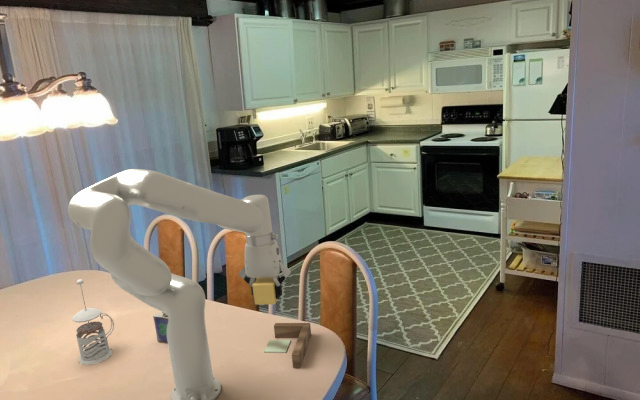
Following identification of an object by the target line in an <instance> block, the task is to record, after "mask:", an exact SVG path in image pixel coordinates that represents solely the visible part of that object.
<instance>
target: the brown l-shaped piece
mask: <svg viewBox="0 0 640 400" xmlns="http://www.w3.org/2000/svg"><path fill="white" fill-rule="evenodd" d="M311 328H312V327H311V322H275V323H274V324H273V331H274V339H269V340H268V341H267V344H266V346H265V348H264V351H263V353H274V354H275V353H277V354H279V353H280V354H281V353H282V354H283V353H284V354H285V353H287V351H288V349H289V346H290V343H291V339H296V342H295V345H294V348H293V351H292V353H291V361H292V362H291V363H292V368H293V369H301V367H302V364H303V360H304V358H305V356H306V352H307V348H308V345H309V342H310V340H309V339H311V337H312V329H311ZM310 336H311V337H310Z"/></svg>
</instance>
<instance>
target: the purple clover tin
mask: <svg viewBox="0 0 640 400" xmlns="http://www.w3.org/2000/svg"><path fill="white" fill-rule="evenodd" d="M152 317H153V323H154V326H155V327H154V328H155V334H156V340H157V342H158V343H163V344H167V345H168V341H167V325H168V315H167V314H166V313H164V312H162V311H161V313H155V314H153V316H152Z"/></svg>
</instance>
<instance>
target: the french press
mask: <svg viewBox="0 0 640 400" xmlns="http://www.w3.org/2000/svg"><path fill="white" fill-rule="evenodd" d="M82 284H84V280H83V279H82V278H80V279H77V280H76V285H80V290H81V294H82V295H81V296H82V301H83V305H84V308H83V309H81V310H79V311H78V312H76V313H75V314H74V315H73V316H72V317H71V320H72V321H73V322H74V323H84V324H81V325H80V326H78V327H77V328H76V331H75V332H76V339H77V340H76V341H77V345H78V348H79V354H80V356H79V358H78V359H77V362H78V361H79V362H80V363H81V364H85V365H84V366H91V364H92V365H96V364H99V363H101V361H102V362H103V360H104V361H106V360H107V359H109V358H110V357H111V356H112V354H113V353H112V352H113V349H112V348H110V346H109V342H108V337H109V336H110V335H111V334H112V333H113V331H114V329H115V323H114V319H113V318H112V316H110V315H109V314H107V313H103V312H102V310H101V309H99V308H95V307H87V308H86V302H85V297H84V292H83V288H82V287H83V286H82ZM98 317H100V319H101V320H103V319H104V317H108V318H109V319H110V323H111V324H110V328H109V331H107V332H106V331H105V329H104V327H103V322H101V321H92V320H95V319H97V318H98ZM111 330H112V331H111ZM87 336H88V337H87ZM111 349H112V350H111ZM111 353H112V354H111ZM110 355H111V356H110ZM109 356H110V357H109ZM105 359H106V360H105ZM80 363H79V364H80ZM95 363H96V364H95ZM81 364H80V365H81ZM89 364H90V365H89Z"/></svg>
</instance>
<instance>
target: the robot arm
mask: <svg viewBox="0 0 640 400" xmlns="http://www.w3.org/2000/svg"><path fill="white" fill-rule="evenodd" d="M132 205H133V206H139V207H144V208H147V209H151V210H154V211H158V212H160V213H161V212H162V213H164V214H168V215H171V216H175V217H178V218H182V219H186V220H190V221H194V222H198V223H204V224H213V225H217V226H218V227H220V228H221V229H224V230H230V231H236V232H239V233H244V234H245V238H246V239H245V240H246V243H245V245H244V267H242V268H241V270H240V271H239V272H238V274H237V275H238V276H239V277H240V278H241V279H243V281H244V282H246V283H247V284H248V286H249V287H250V289H251V291H250V292H251V295H252V296H253V297H254V294H253V287H252V285H253V284H254V282H255V281H256V279H257V278H272V279H273V280H274V282H275V284H276V285H275V294H276V299H278V300H279V299H280V297H281V296H282V295H283V286H282V284H283V283H284V281H285V280H286V279H287V277H289V276H290V275H291V270H290V269H289V268H288V267H287V266H286V265H284V264H283V260H282V256H281V252H280V251H281V250H280V247H279V245H278V241H277V240H278V238H279V234H277V233H276V234H275V233H274V230H273V227H272V225H273V224H272V219H271V211H270V201H269V199H268V197H267V196H266V195H265V194H251V195H246V196H245V197H243V198H241V199H240V198H236V197H233V196H230V195H226V194H224V193H220V192H217V191H214V190H212V189H208V188H205V187H202V186H199V185H196V184H193V183H190V182H188V181H184V180H181V179H180V178H179V179H178V178H176V177H173V176H171V175H168V174H165V173H163V172H159V171H156V170H152V169H151V170H150V169H142V168H141V169H140V168H130V169H126V170H123V171H121V172H117V173H116V174H113V175H112V176H110V177H108V178H105V179H103V180H101V181H99V182H96V183H95V184H92V185H90V186H89V187H86V188H84V189H82V190H80V191H79V192H77V193H76V194H74V195H73V197H72V198H71V199H70V201H69V203H68V207H67V208H68V209H67V213H68V217H69V219H70V220H71V221H72V222H73V223H74V224H75V225H76V226H78V227H79V228H82V229H84V230H85V229H86V230H89V231H90V238H89V239H90V249H91V250H90V251H91V253H92V256H93V259H94V260H95V261H96V263H97V264H98V265H99V266H100V267H102V269H104V270H105V271H107V272H108V273H109V274H110V276H111V279H112V281H113V283H114V284H115V285H116V286H118V287H119V288H120V289H122V290H123V291H124V292H126V293H128V294H129V295H131V296H133V297H134V298H136V299H138V300H139V301H141V302H142V303H144V304H146V305H147V306H149V307H151V308H153V309H155V310H158V311H160V312H161V313H162V312H164V313H166V314H167V315H168V325H167V341H168V344H167V347H168V351H169V352H168V353H169V358H170V362H171V363H170V364H171V368H172V369H171V370H172V374H173V381H174V387H173V389H171V390H172V391H171V392H170V400H216V399H217V397H218V396H219V395H220V393H221V391H222V387H221V386H222V385H221V382H220V380H218V379H217V378H216V377H214V374H213V367H212V360H211V353H210V347H209V339H208V333H207V327H206V326H207V325H206V317H205V315H206V313H205V312H206V311H205V310H206V294H205V291H204V289H203V287H202V286H201V285H200V284H199V283H198V282H196V281H195V280H192V279H190V278H188V277H185V276H182V275H178V274H175V273H172V272H171V269H170V267H169V266H168V265H167V263H166V262H165V261H164V260H163V259H161V258H160V257H158V256H156V255H155V254H154V253H152V252H151V251H149V250H148V249H146V248H145V247H144V246H142V245H141V244H140V243H138V242H137V240H135V239H134V238H133V236H132V234H131V229H130V228H131V219H132V218H131V210H130V206H132ZM280 272H282V273H283V274H282V275H280Z"/></svg>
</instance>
